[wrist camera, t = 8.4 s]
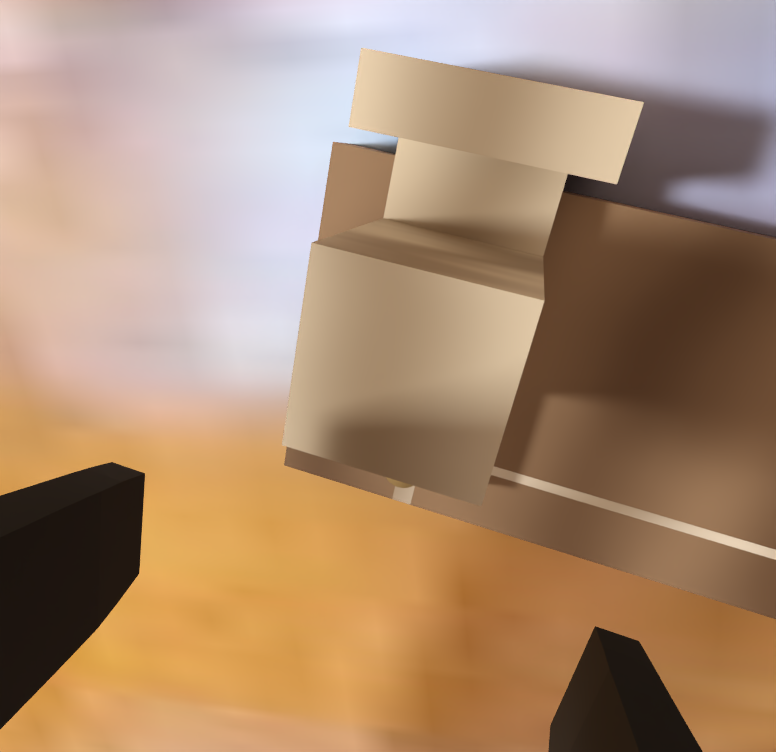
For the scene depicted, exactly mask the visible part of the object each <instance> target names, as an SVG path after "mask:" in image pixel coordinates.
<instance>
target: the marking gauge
mask: <svg viewBox="0 0 776 752" xmlns="http://www.w3.org/2000/svg"><path fill="white" fill-rule="evenodd" d="M643 104H644V102H640V101H635V100H630V99H624V98H619V97H614V96H609V95H604V94H599V93H593V92H588V91H583V90H578V89H573V88H567V87H562V86H557V85H552V84H547V83H542V82H536V81H531V80H526V79H521V78H516V77H510V76H505V75H500V74H495V73H490V72H485V71H479V70H474V69H469V68H464V67H459V66H453V65H448V64H443V63H438V62H433V61H428V60H422V59H417V58H412V57H407V56H402V55H396V54H391V53H386V52H381V51H376V50H371V49H365V48H361V53H360V59H359V65H358V72H357V78H356V84H355V90H354V97H353V103H352V109H351V116H350V122H349V127H353V128H357V129H362V130H367V131H371V132H376V133H380V134H385V135H390V136H394V137H399V139H398V144H397V149H396V154H395V160H394V165H393V170H392V175H391V181H390V186H389V191H388V197H387V202H386V207H385V212H384V218H383V219H380V220H377V221H374V222H371V223H368V224H365V225H362V226H359V227H356V228H353V229H351V230H348V231H345V232H342V233H339V234H336V235H333V236H330V237H327V238H324V239H321V240H318V241H315V242H312V244H311V251H310V257H309V264H308V271H307V278H306V285H305V291H304V298H303V305H302V312H301V319H300V325H299V332H298V339H297V346H296V353H295V360H294V366H293V373H292V380H291V387H290V394H289V400H288V407H287V414H286V421H285V428H284V434H283V441H282V445H283V446H287V447H290V448H293V449H296V450H300V451H303V452H306V453H309V454H313V455H316V456H319V457H322V458H326V459H329V460H332V461H335V462H339V463H342V464H345V465H348V466H352V467H355V468H358V469H361V470H365V471H368V472H371V473H374V474H378V475H381V476H384V477H386V478H387V480H388V481H389V482H390V483H391V484H393V485H394V486H396V487H399V488H409V487H412V486H417V487H420V488H423V489H426V490H430V491H433V492H436V493H439V494H443V495H446V496H449V497H452V498H456V499H459V500H462V501H465V502H469V503H472V504H475V505H478V506H481V505H482V502H483V499H484V496H485V492H486V489H487V486H488V483H489V479H490V476H491V473H492V470H493V466H494V463H495V460H496V457H497V453H498V450H499V447H500V444H501V440H502V437H503V434H504V431H505V427H506V424H507V421H508V418H509V414H510V411H511V408H512V405H513V402H514V398H515V395H516V392H517V389H518V385H519V382H520V379H521V376H522V372H523V369H524V366H525V363H526V359H527V356H528V353H529V350H530V346H531V343H532V340H533V337H534V333H535V330H536V327H537V324H538V320H539V317H540V314H541V311H542V307H543V304H544V301H545V298H544V265H543V255H544V252H545V249H546V245H547V242H548V239H549V235H550V232H551V229H552V225H553V222H554V219H555V215H556V212H557V209H558V205H559V202H560V199H561V195H562V192H563V188H564V185H565V182H566V178H567V175H568V174H571V175H576V176H580V177H585V178H590V179H594V180H599V181H604V182H608V183H613V184H617V183H618V180H619V177H620V174H621V171H622V168H623V164H624V161H625V158H626V155H627V152H628V149H629V146H630V143H631V140H632V137H633V134H634V131H635V128H636V125H637V122H638V119H639V116H640V113H641V110H642V107H643Z"/></svg>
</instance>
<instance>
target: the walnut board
mask: <svg viewBox="0 0 776 752" xmlns="http://www.w3.org/2000/svg"><path fill="white" fill-rule="evenodd" d="M394 160H395V154H394V153H389V152H385V151H380V150H376V149H371V148H367V147H362V146H358V145H353V144H347V143H338V142H333V145H332V152H331V158H330V165H329V172H328V178H327V185H326V192H325V198H324V205H323V211H322V218H321V225H320V231H319V238H318V240H321V239H324V238H327V237H330V236H333V235H336V234H339V233H342V232H345V231H348V230H351V229H353V228H356V227H359V226H362V225H365V224H368V223H371V222H374V221H377V220H380V219H383V218H384V212H385V207H386V202H387V197H388V191H389V186H390V181H391V175H392V170H393V165H394ZM543 265H544V298H545V301H544V304H543V307H542V311H541V314H540V317H539V320H538V324H537V327H536V330H535V333H534V337H533V340H532V343H531V346H530V350H529V353H528V356H527V359H526V363H525V366H524V369H523V372H522V376H521V379H520V382H519V385H518V389H517V392H516V395H515V398H514V402H513V405H512V408H511V411H510V414H509V418H508V421H507V424H506V427H505V431H504V434H503V437H502V440H501V444H500V447H499V450H498V453H497V457H496V460H495V463H494V466H493V470H492V473H491V476H490V479H489V483H488V486H487V489H486V492H485V496H484V499H483V502H482V505H481V506H478V505H475V504H472V503H469V502H465V501H462V500H459V499H456V498H452V497H449V496H446V495H443V494H439V493H436V492H433V491H430V490H426V489H423V488H420V487H417V486H412V487H409V488H399V487H396V486H394V485H393V484H391V483H390V482H389V481H388V480H387V478H386V477H384V476H381V475H378V474H374V473H371V472H368V471H365V470H361V469H358V468H355V467H352V466H348V465H345V464H342V463H339V462H335V461H332V460H329V459H326V458H322V457H319V456H316V455H313V454H309V453H306V452H303V451H300V450H296V449H293V448H290V447H287V450H286V457H285V463H284V465H285V466H289V467H292V468H295V469H298V470H301V471H305V472H308V473H311V474H314V475H317V476H320V477H324V478H327V479H330V480H333V481H336V482H340V483H343V484H346V485H349V486H352V487H356V488H359V489H362V490H365V491H368V492H372V493H375V494H378V495H381V496H384V497H388V498H391V499H394V500H397V501H400V502H403V503H406V504H410V505H413V506H416V507H419V508H423V509H426V510H429V511H432V512H435V513H439V514H442V515H445V516H448V517H451V518H455V519H458V520H461V521H464V522H467V523H471V524H474V525H477V526H480V527H483V528H487V529H490V530H493V531H496V532H499V533H503V534H506V535H509V536H512V537H515V538H519V539H522V540H525V541H528V542H531V543H534V544H538V545H541V546H544V547H547V548H550V549H554V550H557V551H560V552H563V553H566V554H570V555H573V556H576V557H579V558H582V559H586V560H589V561H592V562H595V563H598V564H602V565H605V566H608V567H611V568H614V569H618V570H621V571H624V572H627V573H630V574H633V575H637V576H640V577H643V578H646V579H649V580H653V581H656V582H659V583H662V584H665V585H669V586H672V587H675V588H678V589H681V590H685V591H688V592H691V593H694V594H697V595H701V596H704V597H707V598H710V599H713V600H717V601H720V602H723V603H726V604H729V605H733V606H736V607H739V608H742V609H745V610H748V611H752V612H755V613H758V614H761V615H764V616H768V617H771V618H774V619H776V237H772V236H767V235H762V234H758V233H753V232H749V231H744V230H740V229H735V228H731V227H726V226H721V225H717V224H712V223H708V222H703V221H699V220H694V219H690V218H685V217H681V216H676V215H671V214H667V213H662V212H658V211H653V210H649V209H644V208H640V207H635V206H630V205H626V204H621V203H617V202H612V201H608V200H603V199H599V198H594V197H590V196H585V195H580V194H576V193H571V192H567V191H563V192H562V195H561V199H560V202H559V205H558V209H557V212H556V215H555V219H554V222H553V225H552V229H551V232H550V235H549V239H548V242H547V245H546V249H545V252H544V255H543Z"/></svg>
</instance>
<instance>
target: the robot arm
mask: <svg viewBox="0 0 776 752" xmlns="http://www.w3.org/2000/svg"><path fill="white" fill-rule="evenodd" d="M144 481H145V473H142V472H139V471H136V470H133V469H130V468H127V467H124V466H121V465H118V464H116V463H113V462H111V463H107V464H103V465H99V466H95V467H91V468H88V469H84V470H81V471H78V472H74V473H71V474H68V475H65V476H61V477H58V478H55V479H52V480H49V481H45V482H42V483H39V484H36V485H33V486H30V487H27V488H24V489H20V490H17V491H14V492H11V493H8V494H4V495H1V496H0V729H1V728H2V727H3V726H4V725H5V724H6V723H7V722H8V721H9V720H10V719H11V718H12V717H13V716H14V715H15V714H16V713H17V712H18V711H19V710H20V709H21V707H22V706H23V705H24V704H25V703H26V702H27V701H28V700H29V699H30V698H31V697H32V696H33V695H34V694H35V693H36V692H37V691H38V690H39V689H40V688H41V687H42V686H43V685H44V684H45V683H46V682H47V681H48V680H49V679H50V678H51V677H52V676H53V675H54V674H55V673H56V671H57V670H58V669H59V668H60V667H61V666H62V665H63V664H64V663H65V662H66V661H67V660H68V659H69V658H70V657H71V656H72V655H73V654H74V653H75V652H76V651H77V650H78V648H79V647H80V646H81V645H82V644H83V643H84V642H85V641H86V640H87V639H88V638H89V637H90V636H91V635H92V634H93V633H94V632H95V630H96V629H97V628H98V627H99V626H100V625H101V623H102V622H103V621H104V619H105V618H106V617H107V616H108V614H109V613H110V612H111V611H112V609H113V608H114V607H115V605H116V604H117V603H118V602H119V600H120V599H121V597H122V596H123V595H124V593H125V592H126V591H127V589H128V588H129V587H130V585H131V584H132V582H133V581H134V580H135V578H136V577H137V576H138V574H139V568H140V550H141V533H142V516H143V498H144ZM549 752H702V750H701V748H700V746H699V745H698V743H697V741H696V740H695V738H694V736H693V735H692V733H691V731H690V729H689V728H688V726H687V724H686V722H685V721H684V719H683V717H682V716H681V714H680V712H679V710H678V709H677V707H676V705H675V703H674V702H673V700H672V698H671V696H670V695H669V693H668V691H667V689H666V688H665V686H664V684H663V682H662V680H661V679H660V677H659V675H658V673H657V672H656V670H655V668H654V666H653V665H652V663H651V661H650V659H649V658H648V656H647V654H646V653H645V651H644V649H643V647H642V646H641V644H640V642H639V641H637V640H634V639H631V638H628V637H625V636H622V635H619V634H616V633H613V632H610V631H607V630H604V629H601V628H598V627H596V626H595V628H594V630H593V632H592V634H591V637H590V639H589V641H588V643H587V645H586V648H585V650H584V652H583V654H582V657H581V659H580V661H579V663H578V665H577V668H576V670H575V672H574V674H573V677H572V679H571V681H570V683H569V685H568V688H567V690H566V692H565V694H564V697H563V699H562V701H561V703H560V705H559V708H558V710H557V712H556V714H555V716H554V719H553V721H552V723H551V726H550V739H549Z"/></svg>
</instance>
